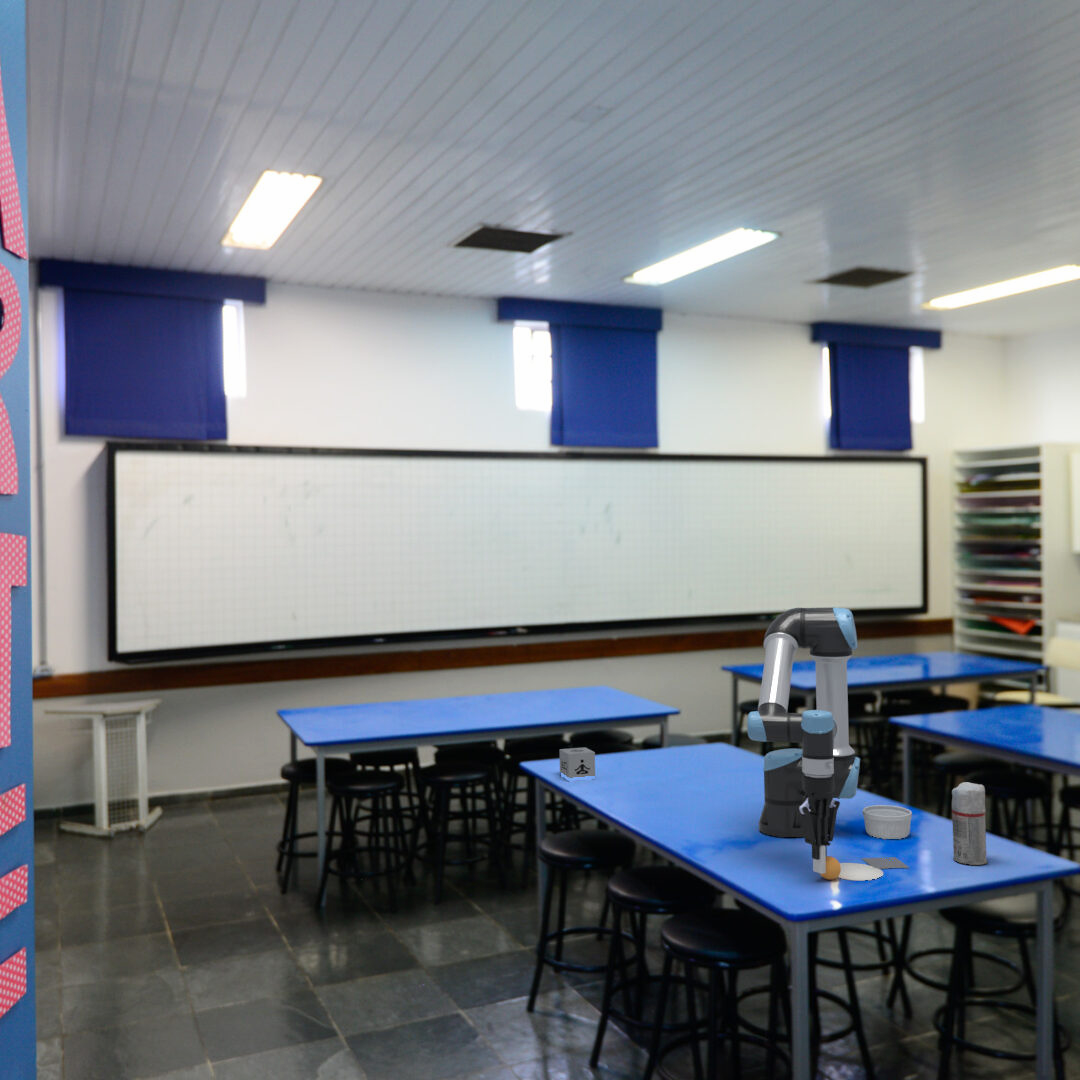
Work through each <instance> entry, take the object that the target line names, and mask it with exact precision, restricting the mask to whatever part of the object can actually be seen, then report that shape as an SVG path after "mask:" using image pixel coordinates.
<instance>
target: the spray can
mask: <svg viewBox="0 0 1080 1080" xmlns="http://www.w3.org/2000/svg"><path fill="white" fill-rule="evenodd" d="M951 795H952V796H951V797H952V799H951V816H952V817H951V818H952V822H951V823H952V845H953V847H952V848H953V852H952V853H953V860H954V861H955V862H956V861H957V863H958V862H959V864H962V863H963V864H962V865H966V864H969V865H968V866H981V865H985V864H988V860H987V837H986V836H987V835H986V830H987V829H986V811H987V810H986V789H985V786H984V785H983V784H978V783H972V782H968V781H967V782H965V781H964V782H961V783H959V785H958V786H956V787H954V788H953V789H952V790H951Z"/></svg>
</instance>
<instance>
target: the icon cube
mask: <svg viewBox="0 0 1080 1080" xmlns="http://www.w3.org/2000/svg"><path fill="white" fill-rule="evenodd" d="M560 772H561V773H563V774H564V775H566V776H567V777H569V778H573V777H585V776H595V777H596V752H595V751H593V750H592V749H590V748H588V747H586V746H585V747H574V748H573V747H572V748H562V749H561V748H560V749H559V773H560Z"/></svg>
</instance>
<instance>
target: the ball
mask: <svg viewBox="0 0 1080 1080" xmlns="http://www.w3.org/2000/svg"><path fill="white" fill-rule="evenodd" d="M840 863H841V862H839V860H838V859H836V857H833V856H830V855H827V856H826V873H823V874H821V873H819V875H820V876H821V877H822V878H823V879H826V880H828V881H829V880H832V881H833V880H836V878H837V877H838V876H839V874H840V872H841V866H840ZM837 879H838V878H837Z"/></svg>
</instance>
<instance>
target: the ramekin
mask: <svg viewBox="0 0 1080 1080" xmlns="http://www.w3.org/2000/svg"><path fill="white" fill-rule="evenodd" d="M912 814H913V812H912V810H910V809H908V808H906V807H902V806H897V805H890V804H889V805H888V804H887V805H886V804H883V805H882V804H877V805H876V804H875V805H869V806H865V807H863V809H862V815H863V820H864V827H865V832H866V833H867V834H868V835H869V836H870V837H872V836H873V838H875V837H876V839H879V838H882V839H881V840H886V839H899V840H902V839H901V838H904V839H906V838H907V837H908V836H909V835H910V831H911V822H912V821H911V820H912V818H913V815H912ZM905 837H906V838H905Z"/></svg>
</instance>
